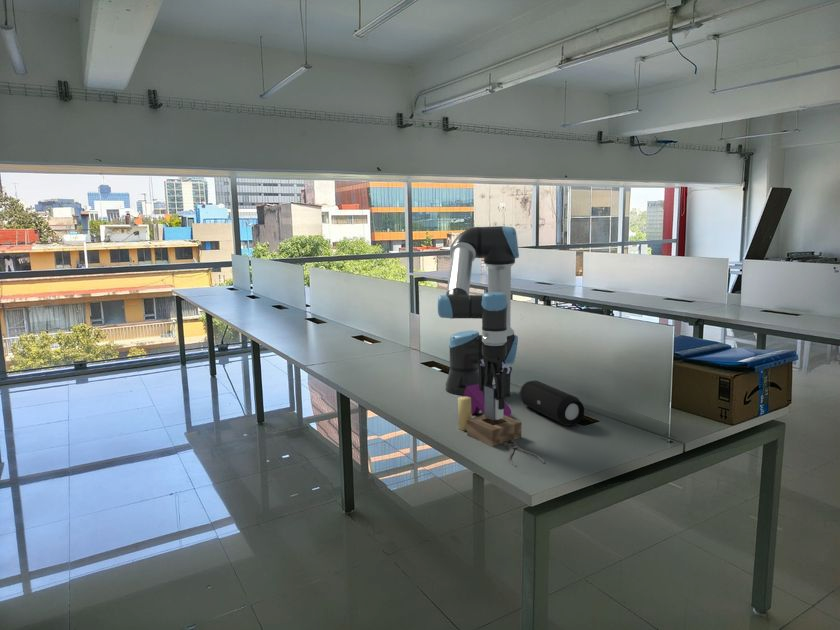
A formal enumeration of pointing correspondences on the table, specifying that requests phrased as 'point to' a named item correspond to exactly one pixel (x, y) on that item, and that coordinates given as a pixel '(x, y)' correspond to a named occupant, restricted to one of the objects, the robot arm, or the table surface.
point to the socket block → (494, 429)
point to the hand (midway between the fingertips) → (493, 416)
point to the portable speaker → (552, 402)
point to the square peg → (490, 401)
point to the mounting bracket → (480, 400)
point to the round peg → (464, 411)
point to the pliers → (515, 446)
